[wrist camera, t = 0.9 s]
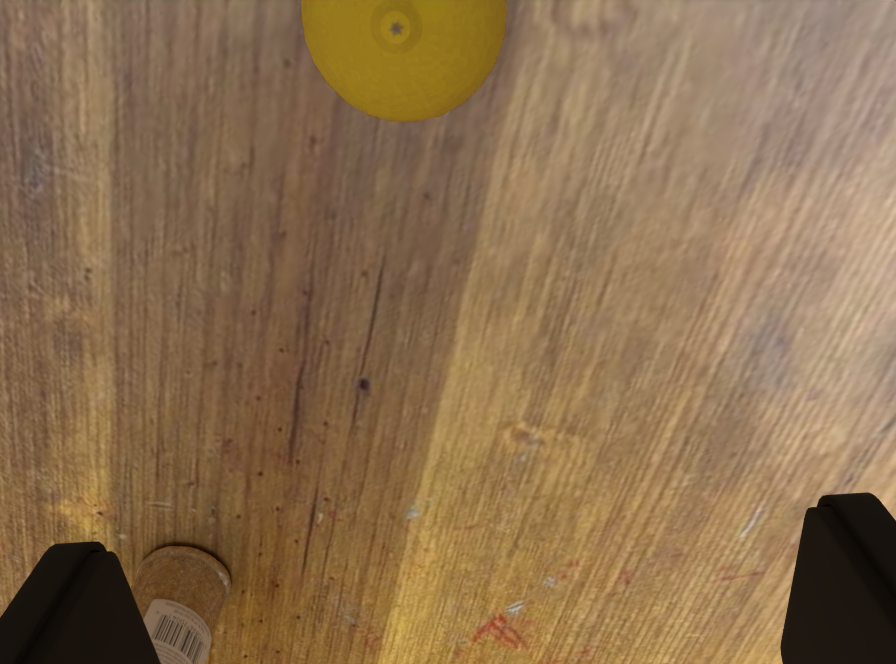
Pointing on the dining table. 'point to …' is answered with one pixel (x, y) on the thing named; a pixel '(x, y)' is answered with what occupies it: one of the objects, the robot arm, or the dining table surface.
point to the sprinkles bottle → (181, 601)
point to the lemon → (404, 52)
